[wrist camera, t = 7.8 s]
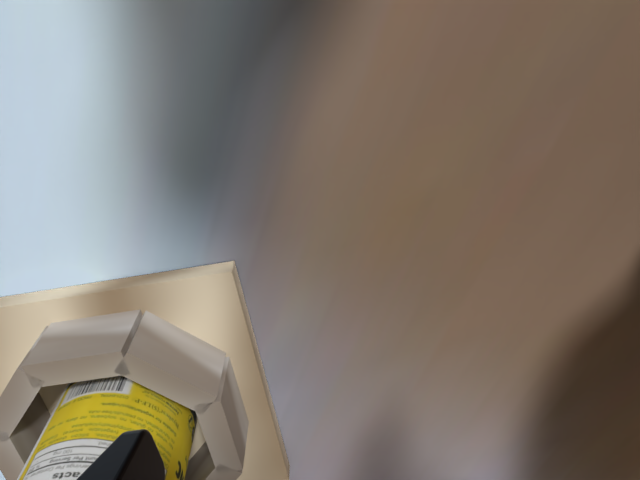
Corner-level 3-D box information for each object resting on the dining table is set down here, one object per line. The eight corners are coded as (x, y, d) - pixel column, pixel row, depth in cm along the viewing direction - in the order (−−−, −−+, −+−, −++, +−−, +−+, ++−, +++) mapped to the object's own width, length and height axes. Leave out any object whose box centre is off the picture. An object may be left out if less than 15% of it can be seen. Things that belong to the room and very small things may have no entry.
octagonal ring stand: (234, 261, 21) (222, 310, 19) (289, 465, 26) (287, 530, 24) (-44, 304, 22) (-97, 358, 19) (61, 495, 27) (31, 562, 24)
